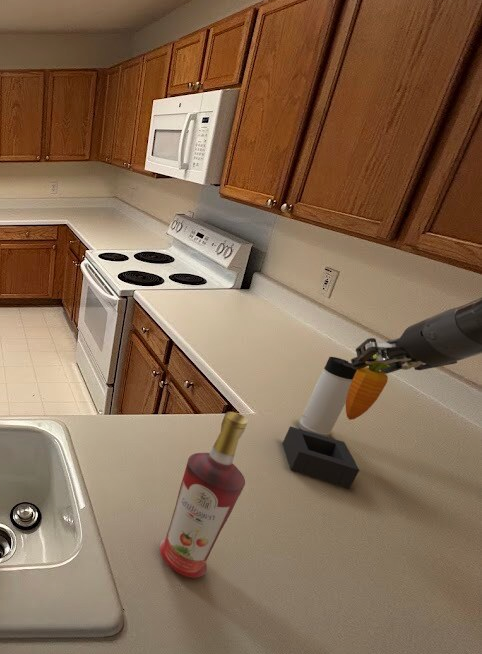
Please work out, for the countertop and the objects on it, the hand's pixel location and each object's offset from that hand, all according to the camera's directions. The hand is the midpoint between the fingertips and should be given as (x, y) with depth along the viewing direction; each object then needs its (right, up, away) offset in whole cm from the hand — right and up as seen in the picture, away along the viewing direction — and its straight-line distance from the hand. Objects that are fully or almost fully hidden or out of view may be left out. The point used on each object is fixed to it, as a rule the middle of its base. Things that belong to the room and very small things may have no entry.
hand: (368, 366), depth 81 cm
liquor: (-45, -30, -16) cm, 56 cm away
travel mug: (+7, -19, +22) cm, 30 cm away
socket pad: (-3, -23, +9) cm, 25 cm away
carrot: (-1, -11, +3) cm, 12 cm away
